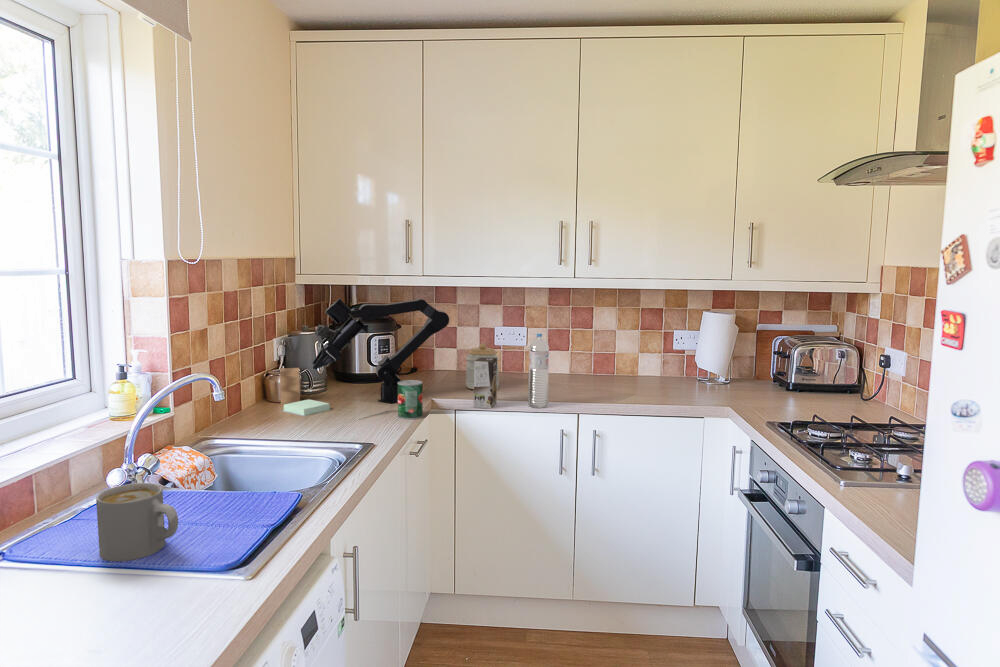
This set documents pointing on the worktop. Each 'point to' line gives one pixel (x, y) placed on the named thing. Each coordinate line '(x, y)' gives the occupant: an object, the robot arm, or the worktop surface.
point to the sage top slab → (306, 407)
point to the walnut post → (289, 385)
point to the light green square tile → (303, 415)
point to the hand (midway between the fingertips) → (313, 366)
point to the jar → (473, 356)
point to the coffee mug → (133, 521)
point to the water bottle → (538, 373)
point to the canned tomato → (410, 399)
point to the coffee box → (485, 382)
